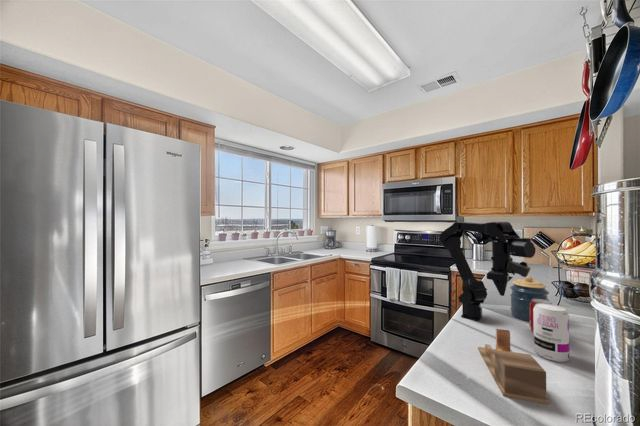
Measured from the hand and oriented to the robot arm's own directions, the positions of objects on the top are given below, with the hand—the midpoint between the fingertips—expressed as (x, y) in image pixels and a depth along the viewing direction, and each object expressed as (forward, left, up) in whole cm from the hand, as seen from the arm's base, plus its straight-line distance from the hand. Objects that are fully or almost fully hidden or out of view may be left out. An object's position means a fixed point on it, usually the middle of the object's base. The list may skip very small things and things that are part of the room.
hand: (502, 295), depth 98 cm
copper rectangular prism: (+7, -34, -12) cm, 37 cm away
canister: (+6, +23, -13) cm, 27 cm away
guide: (+6, -31, -13) cm, 34 cm away
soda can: (+11, +6, -13) cm, 18 cm away
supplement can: (+14, -12, -13) cm, 23 cm away
